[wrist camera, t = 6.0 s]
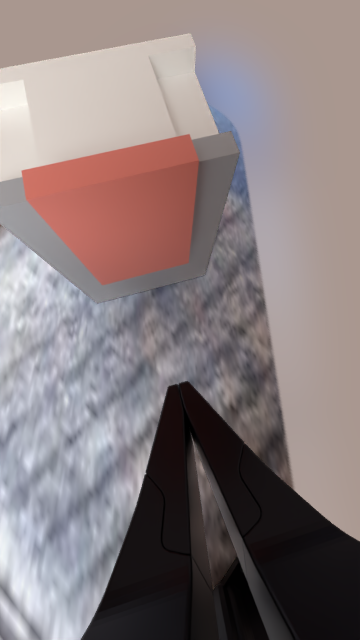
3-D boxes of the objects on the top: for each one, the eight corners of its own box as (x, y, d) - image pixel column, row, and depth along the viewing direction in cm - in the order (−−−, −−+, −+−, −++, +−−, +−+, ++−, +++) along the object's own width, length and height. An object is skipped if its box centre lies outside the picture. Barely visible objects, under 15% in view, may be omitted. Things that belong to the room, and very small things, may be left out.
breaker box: (204, 275, 19) (239, 152, 8) (97, 303, 18) (-16, 210, 8) (183, 210, 20) (190, 33, 9) (82, 235, 19) (-32, 74, 9)
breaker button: (188, 263, 13) (198, 160, 7) (102, 285, 13) (25, 199, 6) (153, 152, 15) (135, -15, 8) (76, 169, 14) (-5, 9, 8)
